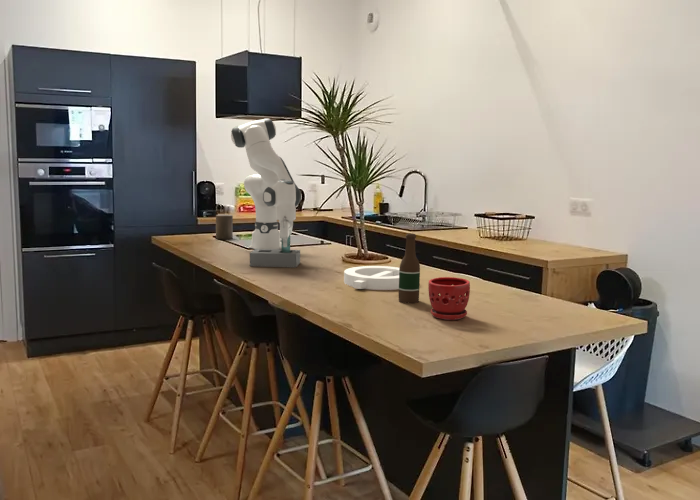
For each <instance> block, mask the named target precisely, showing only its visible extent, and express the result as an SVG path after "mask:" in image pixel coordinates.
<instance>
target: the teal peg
mask: <svg viewBox="0 0 700 500" xmlns="http://www.w3.org/2000/svg"><path fill="white" fill-rule="evenodd" d="M280 239H281V238H280ZM280 243H281V253H290V250H291V235H290V236H289V237H288V239H287V247H283V239H281V242H280Z"/></svg>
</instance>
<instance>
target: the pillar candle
mask: <svg viewBox="0 0 700 500" xmlns="http://www.w3.org/2000/svg"><path fill="white" fill-rule="evenodd" d="M233 217H234V216H233V214H225V213H223V214H215V239H217V240H232V239H233V237H234V236H233V235H234V234H233V233H234V232H233V230H234V229H233V219H234V218H233Z"/></svg>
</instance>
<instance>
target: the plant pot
mask: <svg viewBox="0 0 700 500" xmlns="http://www.w3.org/2000/svg"><path fill="white" fill-rule="evenodd" d="M470 284H471V282H470V281H469V280H468V279H466V278H462V277H454V276H452V277H451V276H448V277H447V276H445V277H444V276H443V277H440V276H439V277H434V278H431V279H429V280H428V290H427V291H428V299H429V303H430V305H431V307H432V308H431V309H430V313H431V315H432V316H433V317H434V318H437V319H439V320H445V321H454V320H455V321H458V320H461V319H464V318H465V317H466V316H467V314H468V311H467V310H466V308H467V306H468V304H469V301H470V295H471V294H470V293H471V292H470V291H471V285H470Z"/></svg>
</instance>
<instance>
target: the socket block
mask: <svg viewBox="0 0 700 500" xmlns="http://www.w3.org/2000/svg"><path fill="white" fill-rule="evenodd" d="M300 263H301V249H290V253H281V249H253V250H251V252H249V266H250V267H266V268H273V267H274V268H298V266H299V265H300Z"/></svg>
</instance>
